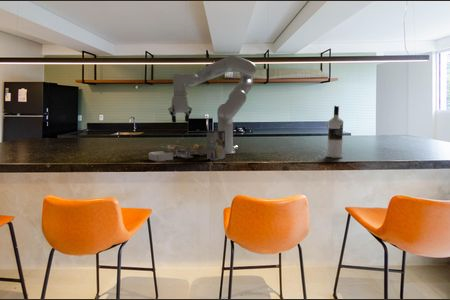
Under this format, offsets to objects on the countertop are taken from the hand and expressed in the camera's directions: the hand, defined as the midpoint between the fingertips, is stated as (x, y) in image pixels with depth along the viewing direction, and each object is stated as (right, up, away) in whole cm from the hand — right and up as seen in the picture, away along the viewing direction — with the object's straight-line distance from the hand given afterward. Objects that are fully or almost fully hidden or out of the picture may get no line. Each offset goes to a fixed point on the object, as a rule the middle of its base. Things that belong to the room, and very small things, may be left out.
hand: (180, 122), depth 191 cm
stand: (+3, -21, -4) cm, 22 cm away
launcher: (+1, -17, -3) cm, 18 cm away
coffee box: (+23, -23, -15) cm, 36 cm away
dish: (-9, -23, -17) cm, 30 cm away
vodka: (+92, -22, -10) cm, 95 cm away
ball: (+10, -16, -1) cm, 18 cm away
